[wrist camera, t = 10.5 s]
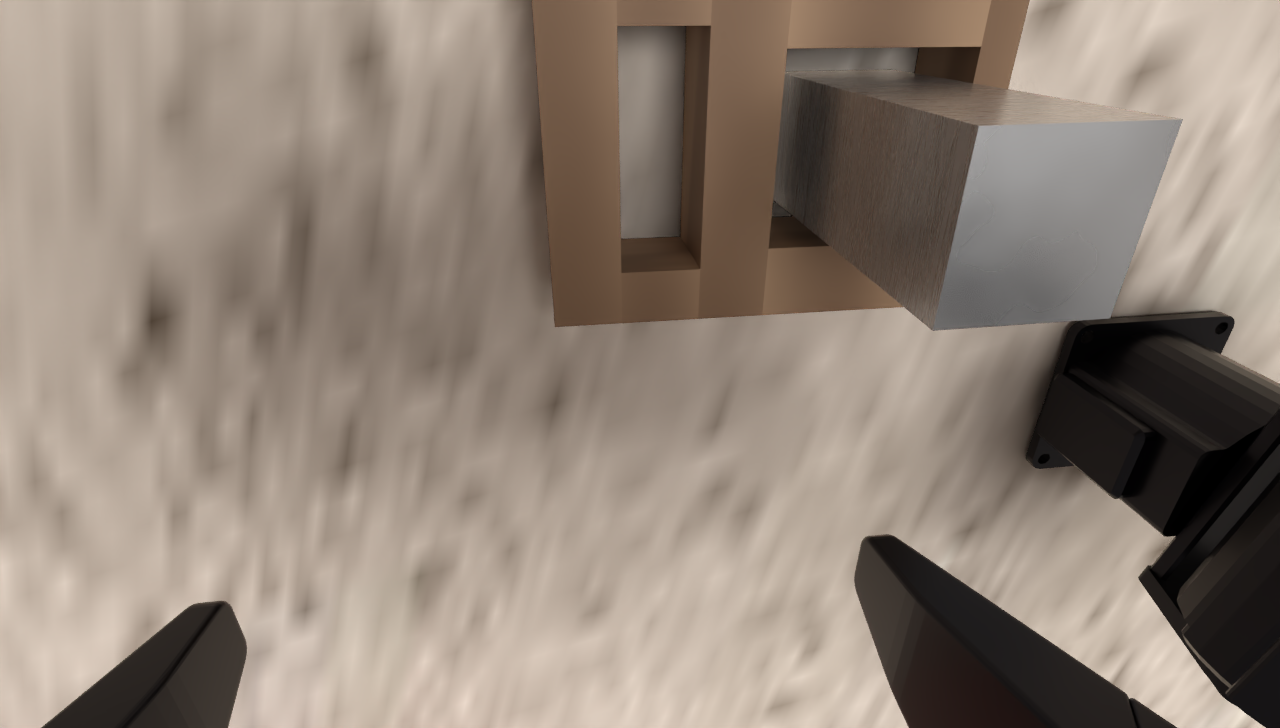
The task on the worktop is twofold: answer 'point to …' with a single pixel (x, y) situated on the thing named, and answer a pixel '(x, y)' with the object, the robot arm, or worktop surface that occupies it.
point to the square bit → (970, 192)
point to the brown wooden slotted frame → (720, 149)
